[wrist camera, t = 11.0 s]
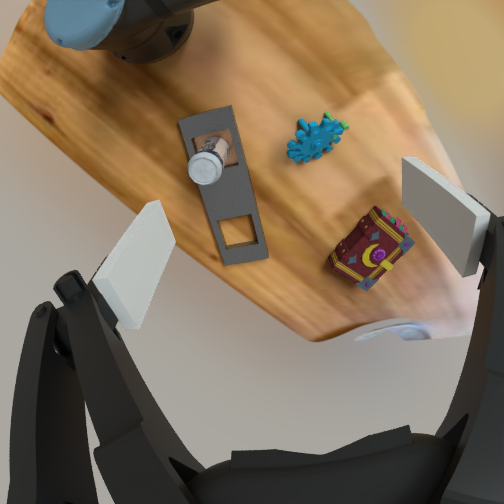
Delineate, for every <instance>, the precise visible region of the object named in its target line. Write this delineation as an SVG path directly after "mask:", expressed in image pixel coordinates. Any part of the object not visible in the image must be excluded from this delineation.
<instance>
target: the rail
mask: <svg viewBox="0 0 504 504" xmlns="http://www.w3.org/2000/svg"><path fill="white" fill-rule="evenodd" d="M178 122H179V126H180V129H181V132H182V135H183V139H184V142H185V145H186V148H187V152H188V155H189V158H190V159H191V158H192V157H193V156H194V155H195V154H196V153H197V151H198V150H199V149H200V148H201V147H202V145H203V144H204V142H205V141H206V140H207V139H209V138H212V137H219V138H222V139H224V140H225V141H226V142H227V143H228V145H229V149H230V152H229V156H228V158H227V161H226V164H225V166H224V169H223V171H222V174H221V176H220V178H219V179H218V180H217V181H216V182H215V183H213V184H210V185H200V184H198V186H199V189H200V192H201V195H202V198H203V201H204V204H205V207H206V211H207V214H208V217H209V220H210V223H211V225H212V228H213V231H214V234H215V237H216V240H217V243H218V246H219V249H220V252H221V255H222V258H223V261H224V263H225V266H226V265H232V264H238V263H244V262H250V261H256V260H262V259H267V258H269V253H268V249H267V245H266V241H265V237H264V232H263V228H262V224H261V220H260V216H259V212H258V207H257V203H256V199H255V195H254V191H253V187H252V183H251V179H250V175H249V171H248V167H247V163H246V159H245V155H244V151H243V147H242V143H241V139H240V135H239V131H238V127H237V123H236V119H235V116H234V112H233V108H232V105H230V106H226V107H222V108H218V109H214V110H210V111H206V112H203V113H199V114H196V115H192V116H189V117H186V118H182V119H180V120H178ZM194 142H195V143H194ZM195 145H196V146H195ZM236 163H237V164H236ZM231 164H232V165H231ZM227 165H228V166H227ZM248 214H251V215H252V218H253V222H254V226H255V230H256V234H257V238H258V240H255V241H250V242H244V243H238V244H233V245H226V242H225V239H224V236H223V233H222V229H221V226H220V223H219V220H223V219H228V218H233V217H238V216H243V215H248Z"/></svg>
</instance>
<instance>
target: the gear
mask: <svg viewBox="0 0 504 504" xmlns="http://www.w3.org/2000/svg"><path fill="white" fill-rule="evenodd" d="M324 114H325V116H326V117H327V118H328V119H327V118H324V119H323V120H322V122H321V124H320V125H319V126H318V124H317V123H316V122H311V123H309V124H308V125H307V124H306V122H305V121H304V119H299V120H298V123H299V124H300V125H301V127H302V128H303V130H304V131H305V133H306V135H305V133H304V132H303V130H299V131H297V132H296V133H295V135H296V137H297V138H298V139H300V142H298V143H295V141H294V140H291V141H289V143H288V144H287V146H288V148H289V150H287V156H288V157H289V158H292V159H293V160H294V162H295V163H297V162H299V161H300V160H301V159H302V161H303V162H309V161H310V158H311V157H312V156H314V158H315V159H317V158H320V157H321V156H322V155H321V152H322V150H323V149H325V150H326V152H329V151H331V150H332V149H333V148H332V146H331V145H330V144H329V143H330V142H331V141H333V142H334V143H335V144H337V143H338V142H339V141H340V140H341V139H340V137H339V136H338V135H341V134H342V133H343V130H347V129H349V126H348V125H347V123H346V122H345V121H344V120H343V121H341V122H340V123H339V121H338V120H334V119H333V118H332V117H331V115H330V114H329V113H328V112H325V113H324ZM342 128H343V129H342ZM293 149H296V150H293Z"/></svg>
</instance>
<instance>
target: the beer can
mask: <svg viewBox="0 0 504 504" xmlns="http://www.w3.org/2000/svg"><path fill="white" fill-rule="evenodd" d="M229 152H230V149H229V145H228V143H227V142H226V141H225V140H224V139H222V138H219V137H212V138H209V139H207V140H206V141H205V142H204V144H203V145H202V147H201V148H200V149H199V150H198V151H197V153H196V154H195V155H194V156H193V157H192V158H191V159H190V161H189V163H188V167H187V168H188V174H189V176H190V178H191V179H192V180H193V181H194V182H196V183H197V184H200V185H210V184H213V183H215V182H216V181H217V180H218V179H219V178H220V176H221V174H222V171H223V169H224V166H225V164H226V161H227V158H228V156H229Z"/></svg>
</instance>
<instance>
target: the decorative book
mask: <svg viewBox="0 0 504 504" xmlns="http://www.w3.org/2000/svg"><path fill="white" fill-rule="evenodd" d="M390 217H391V216H390V214H389V213H387V212H385V211H384V210H382V211H381V210H380V209H379V208H378V207H377V206H375V207H374V208H373V209H372V210H371V211H370V212H369V213H368V214H367V216H365V215H364V216H363V217H362V218H361V220H360V221H359V222H358V224H359V225H358V226H357V227H356V228H355V229H354V230H353V231H352V232H351V233H350V234H349V235H348V237H347V238H346V239H345V240H344V239H342V240H341V242H340V243H339V244H338V245H337V248H336V250H335V251H334V252H333V253H332V254H331V255H330V256H329V257H328V258H329V261H330V264H331V267H332V269H334V270H335V271H337V272H339V273H340V274H342V275H344V276H345V277H347V278H348V279H350V280H352V281H353V282H355V284H356V285H358V286H359V287H361V288H362V289H364V290H366V291H367V290H368V289H370V288H371V287H372V286H373V285H374V284H375V283H376V282H377V281H378V280H379V278H380V277H381V276H382V275H383V274H384V273H385V272H386V271H387V270H388V271H390V270H391V269H392V268H393V267H394V265H393V264H394V263H395V262H396V261H397V260H398V259H399V258H400V257H401V256H403V255H404V254H405V253H406V252H407V251H408V250H409V249H410V248H411V247H412V246H413V245H414V244H415V242H414V241H413V240H412V239H411V238H410V237H409V236H408V235H409V234H408V233H407V227H406V226H405V225H403V226H402V225H401V220H400V219H399V218H397V222H396V223H395V220H394V219H393V218H392V217H391V219H390Z"/></svg>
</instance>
